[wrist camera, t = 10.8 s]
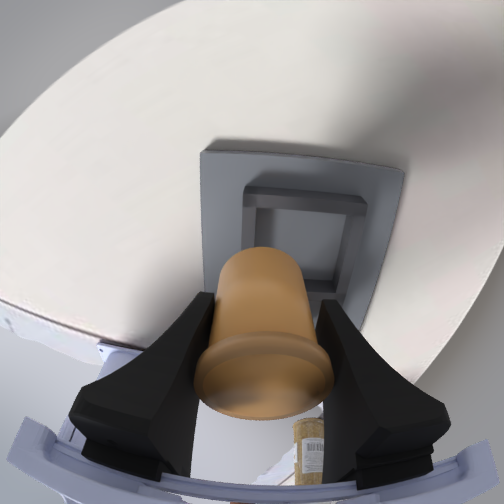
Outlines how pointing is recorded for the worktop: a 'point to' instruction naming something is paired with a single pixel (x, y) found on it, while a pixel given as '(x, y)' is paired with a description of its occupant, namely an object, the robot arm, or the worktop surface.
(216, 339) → the jaw peg
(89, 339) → the worktop surface
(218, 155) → the housing
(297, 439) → the sprinkles bottle
